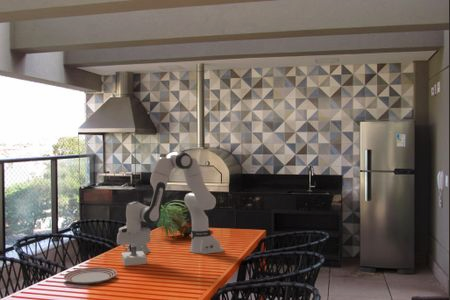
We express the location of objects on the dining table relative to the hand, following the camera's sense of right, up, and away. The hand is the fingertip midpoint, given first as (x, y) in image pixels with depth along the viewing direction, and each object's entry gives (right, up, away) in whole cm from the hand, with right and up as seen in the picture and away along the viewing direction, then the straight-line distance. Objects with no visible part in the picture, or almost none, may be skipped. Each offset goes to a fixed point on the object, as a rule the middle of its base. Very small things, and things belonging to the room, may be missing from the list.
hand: (133, 250), depth 303 cm
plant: (+18, -6, +73) cm, 76 cm away
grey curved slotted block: (-1, -7, +21) cm, 22 cm away
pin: (0, -6, 0) cm, 6 cm away
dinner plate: (-16, -8, -39) cm, 43 cm away
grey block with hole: (0, -6, 0) cm, 6 cm away
